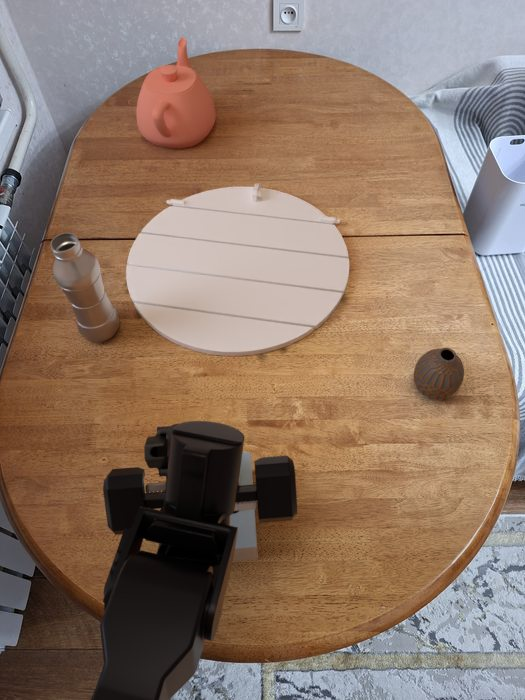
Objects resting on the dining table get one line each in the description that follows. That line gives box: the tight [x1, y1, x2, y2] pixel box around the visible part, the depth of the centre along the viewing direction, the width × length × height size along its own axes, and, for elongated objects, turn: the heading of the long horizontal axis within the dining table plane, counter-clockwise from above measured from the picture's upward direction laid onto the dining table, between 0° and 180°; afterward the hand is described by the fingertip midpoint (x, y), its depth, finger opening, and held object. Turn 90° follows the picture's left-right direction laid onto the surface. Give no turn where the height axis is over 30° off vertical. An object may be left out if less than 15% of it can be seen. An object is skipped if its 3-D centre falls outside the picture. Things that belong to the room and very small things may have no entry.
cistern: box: [230, 451, 259, 563], centre depth 69 cm, size 12×10×8 cm
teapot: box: [136, 36, 217, 149], centre depth 116 cm, size 25×17×13 cm
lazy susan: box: [125, 182, 350, 357], centre depth 97 cm, size 40×39×3 cm
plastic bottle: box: [50, 232, 120, 343], centre depth 82 cm, size 6×7×20 cm
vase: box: [413, 347, 465, 401], centre depth 79 cm, size 7×7×9 cm
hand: (207, 462), depth 63 cm, fingers closed
